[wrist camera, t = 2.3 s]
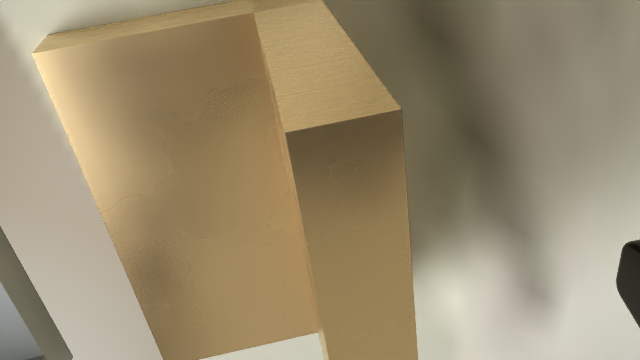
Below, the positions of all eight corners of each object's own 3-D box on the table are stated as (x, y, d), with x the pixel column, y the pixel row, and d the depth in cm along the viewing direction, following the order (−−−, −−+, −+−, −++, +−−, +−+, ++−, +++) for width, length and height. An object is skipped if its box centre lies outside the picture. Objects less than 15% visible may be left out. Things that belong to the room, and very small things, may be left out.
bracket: (354, 289, 15) (428, 516, 10) (169, 330, 15) (147, 588, 9) (311, -15, 11) (402, 108, 6) (49, 33, 10) (-109, 211, 5)
